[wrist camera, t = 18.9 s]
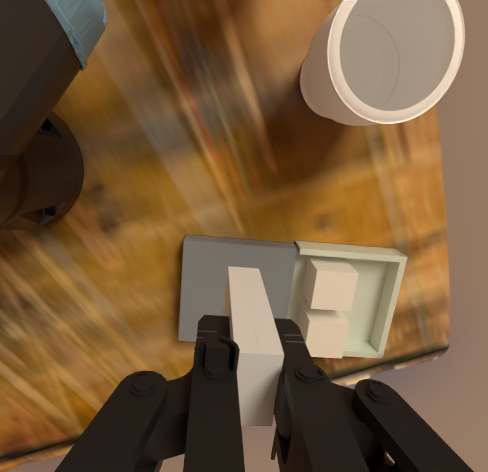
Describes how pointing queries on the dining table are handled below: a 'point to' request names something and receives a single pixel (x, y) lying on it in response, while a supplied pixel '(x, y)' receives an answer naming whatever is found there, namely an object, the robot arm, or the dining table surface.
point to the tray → (358, 292)
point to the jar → (383, 60)
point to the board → (215, 275)
